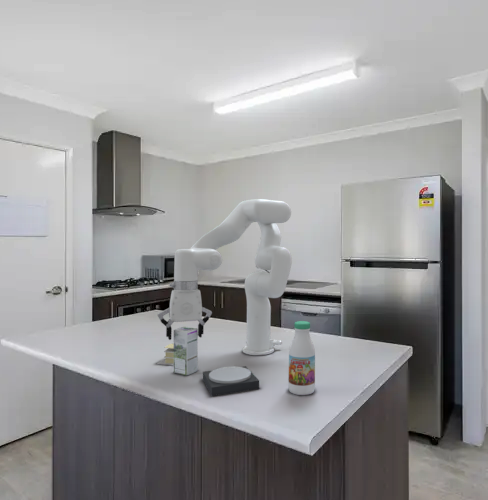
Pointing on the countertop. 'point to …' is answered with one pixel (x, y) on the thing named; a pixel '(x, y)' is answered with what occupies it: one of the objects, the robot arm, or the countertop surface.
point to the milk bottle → (302, 361)
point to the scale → (230, 380)
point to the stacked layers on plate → (168, 355)
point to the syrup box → (185, 350)
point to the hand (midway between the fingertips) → (185, 337)
